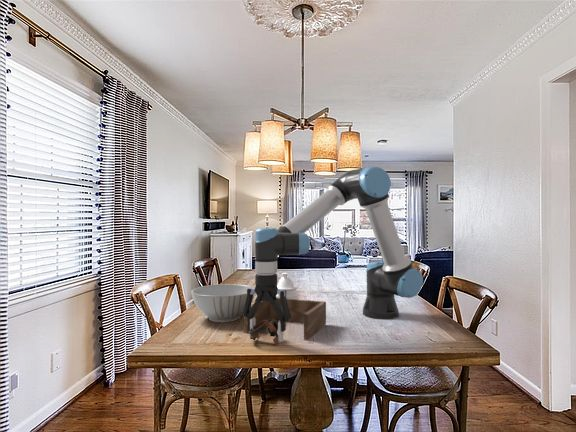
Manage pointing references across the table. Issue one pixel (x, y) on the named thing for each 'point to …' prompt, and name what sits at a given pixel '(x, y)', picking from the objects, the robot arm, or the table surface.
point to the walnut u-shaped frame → (294, 314)
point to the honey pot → (287, 287)
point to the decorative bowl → (221, 301)
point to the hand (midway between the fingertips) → (266, 338)
